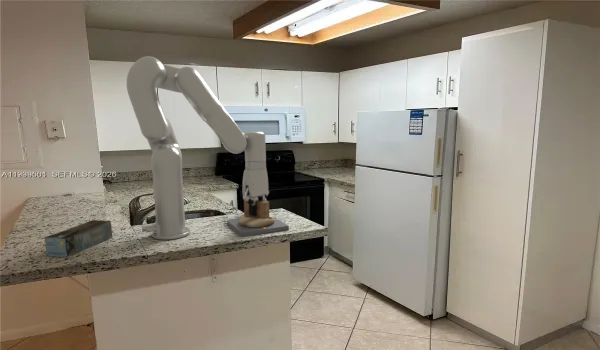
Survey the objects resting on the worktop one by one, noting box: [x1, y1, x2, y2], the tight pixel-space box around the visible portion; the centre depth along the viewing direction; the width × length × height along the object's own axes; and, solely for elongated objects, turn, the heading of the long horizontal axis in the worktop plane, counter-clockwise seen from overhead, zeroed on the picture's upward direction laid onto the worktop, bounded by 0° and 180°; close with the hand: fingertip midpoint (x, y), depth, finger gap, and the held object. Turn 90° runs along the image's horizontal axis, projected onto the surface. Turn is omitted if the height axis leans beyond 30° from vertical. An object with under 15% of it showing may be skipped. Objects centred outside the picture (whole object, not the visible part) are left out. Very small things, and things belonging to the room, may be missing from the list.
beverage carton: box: [44, 219, 113, 258], centre depth 115 cm, size 8×19×7 cm, turn 167°
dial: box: [238, 200, 275, 227], centre depth 134 cm, size 13×13×8 cm
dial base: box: [226, 216, 290, 238], centre depth 135 cm, size 18×18×2 cm
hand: (256, 213), depth 134 cm, fingers closed on dial, 3 cm apart
